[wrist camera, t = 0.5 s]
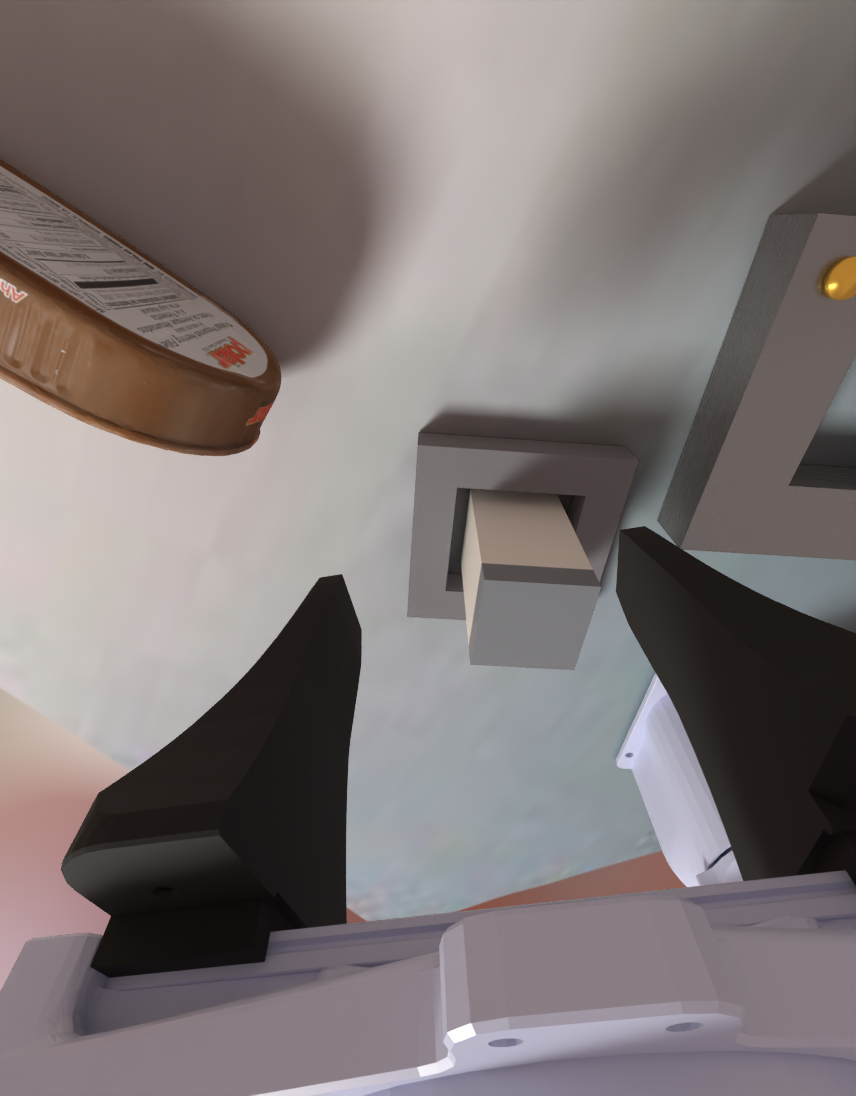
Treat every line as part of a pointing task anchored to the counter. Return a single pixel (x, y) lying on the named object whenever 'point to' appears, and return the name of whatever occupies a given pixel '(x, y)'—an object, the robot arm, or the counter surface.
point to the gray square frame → (507, 466)
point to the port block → (775, 405)
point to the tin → (121, 334)
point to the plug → (524, 581)
